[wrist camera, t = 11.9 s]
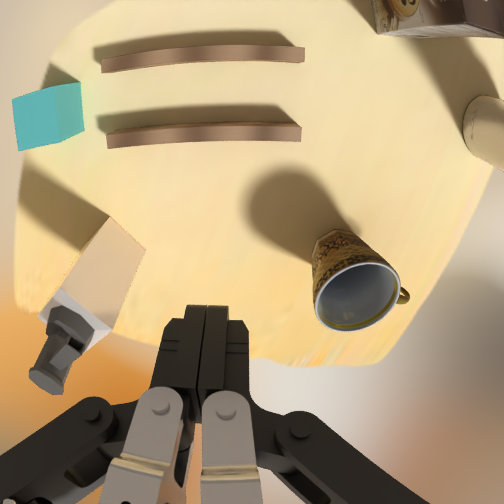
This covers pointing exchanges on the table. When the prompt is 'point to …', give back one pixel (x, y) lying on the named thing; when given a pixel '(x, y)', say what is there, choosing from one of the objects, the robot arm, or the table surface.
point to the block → (48, 115)
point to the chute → (213, 129)
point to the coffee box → (439, 18)
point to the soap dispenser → (86, 302)
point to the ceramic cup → (352, 283)
